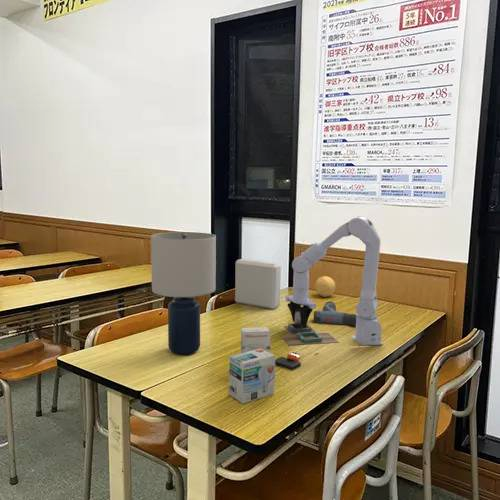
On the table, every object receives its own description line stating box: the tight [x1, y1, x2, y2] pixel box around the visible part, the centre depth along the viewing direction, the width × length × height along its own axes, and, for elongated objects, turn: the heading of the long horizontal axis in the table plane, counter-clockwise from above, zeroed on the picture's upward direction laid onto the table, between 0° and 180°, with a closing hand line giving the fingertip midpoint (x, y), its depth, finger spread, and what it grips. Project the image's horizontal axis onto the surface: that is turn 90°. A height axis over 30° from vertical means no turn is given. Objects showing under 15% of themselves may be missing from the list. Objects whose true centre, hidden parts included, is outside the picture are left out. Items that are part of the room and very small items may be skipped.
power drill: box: [313, 301, 357, 326], centre depth 193 cm, size 5×19×20 cm
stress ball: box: [314, 275, 336, 298], centre depth 229 cm, size 10×10×10 cm
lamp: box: [150, 231, 217, 356], centre depth 152 cm, size 20×20×39 cm
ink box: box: [240, 326, 271, 353], centre depth 142 cm, size 9×5×12 cm, turn 96°
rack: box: [280, 331, 340, 347], centre depth 166 cm, size 10×18×2 cm, turn 102°
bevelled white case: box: [234, 258, 282, 310], centre depth 211 cm, size 21×8×20 cm, turn 58°
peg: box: [293, 310, 305, 328], centre depth 176 cm, size 4×4×7 cm
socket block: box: [282, 322, 316, 335], centre depth 176 cm, size 10×10×2 cm
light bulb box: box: [228, 348, 276, 404], centre depth 123 cm, size 11×7×11 cm, turn 126°
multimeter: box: [275, 351, 319, 371], centre depth 150 cm, size 18×12×3 cm, turn 136°
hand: (299, 323), depth 176 cm, fingers closed on peg, 4 cm apart
